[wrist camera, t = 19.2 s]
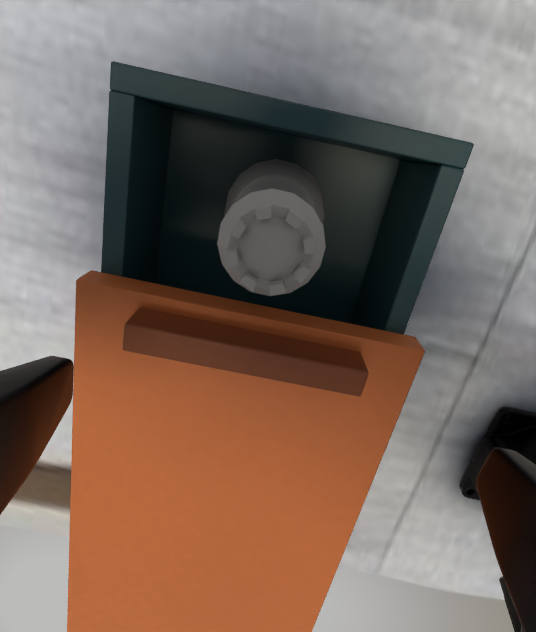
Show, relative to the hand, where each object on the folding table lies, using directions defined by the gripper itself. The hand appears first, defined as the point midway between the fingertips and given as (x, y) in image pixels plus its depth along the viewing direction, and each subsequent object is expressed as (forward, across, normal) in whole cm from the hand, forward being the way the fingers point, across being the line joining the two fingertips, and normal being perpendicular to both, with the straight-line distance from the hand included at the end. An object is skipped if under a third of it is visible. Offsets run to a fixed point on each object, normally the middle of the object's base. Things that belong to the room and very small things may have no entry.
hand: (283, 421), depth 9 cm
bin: (+13, +1, +3) cm, 13 cm away
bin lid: (+7, +1, +10) cm, 13 cm away
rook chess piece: (+12, +1, -2) cm, 13 cm away
